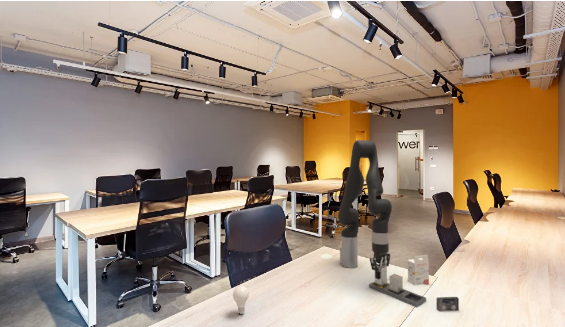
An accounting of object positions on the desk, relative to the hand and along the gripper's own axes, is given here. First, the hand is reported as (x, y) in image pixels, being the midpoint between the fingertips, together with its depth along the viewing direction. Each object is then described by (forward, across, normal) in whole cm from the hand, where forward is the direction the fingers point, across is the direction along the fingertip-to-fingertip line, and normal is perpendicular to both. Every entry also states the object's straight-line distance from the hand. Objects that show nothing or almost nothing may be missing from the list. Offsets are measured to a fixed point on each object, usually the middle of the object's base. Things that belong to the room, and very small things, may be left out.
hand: (380, 277), depth 133 cm
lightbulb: (+6, +62, -23) cm, 66 cm away
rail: (+6, 0, +8) cm, 10 cm away
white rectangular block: (+3, 0, 0) cm, 3 cm away
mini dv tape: (+6, -4, +28) cm, 29 cm away
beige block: (+5, 0, +8) cm, 9 cm away
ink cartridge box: (+6, -20, +8) cm, 22 cm away
